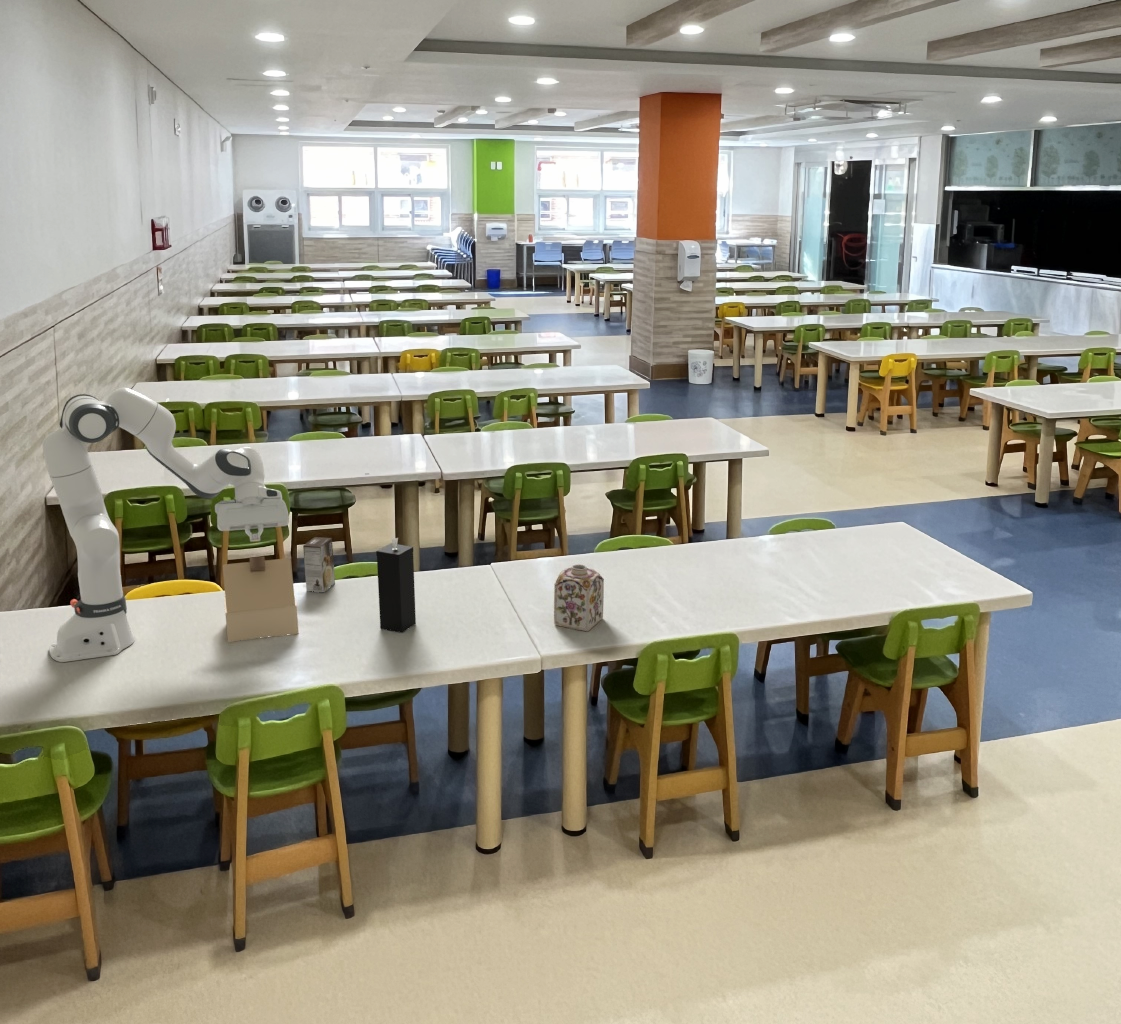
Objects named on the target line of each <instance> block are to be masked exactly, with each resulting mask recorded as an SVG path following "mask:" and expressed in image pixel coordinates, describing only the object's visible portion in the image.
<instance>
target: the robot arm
mask: <svg viewBox="0 0 1121 1024" xmlns="http://www.w3.org/2000/svg"><path fill="white" fill-rule="evenodd" d="M59 428H60V429H57V430H55V431H52V432H50V433H49V434H47V435H46V436H45V437H44V438H43V440H42V443H41V444H42V453H43V458H44V462H45V466H46V469H47V473H48V475H49V477H50V480H51V483H52V485H53V488H54V491H55V494H56V497H57V500H58V502H59V505H60V508H61V511H62V515H63V517H64V520H65V524H66V526H67V529H68V531H69V535H70V537H71V538H72V540H73V542H74V544H75V547H76V553H77V578H78V579H77V580H78V586H79V593H80V599H79V600H77V599H75V598H73V599H71V600H70V603H69V604H70V607H71V608H73V609H74V614H73V615H72V616H71V617H69V618H68V619H67V620H66V621H65V622H64V623H62V625H60V626H59V628H58V630H57V632H56V634H57V635H56V641H54V642H52V643H51V644H50V645H49V652H48V653H49V656H50V657H51V658H52V659H53V660H54V661H55V662H58V663H67V662H73V661H79V660H87V659H93V658H102V657H109V656H114V655H115V656H116V655H118V654H120V652H122V651H123V650H124V649H126V648H128V647H130V646H131V645H133V643H134V642H135V640H136V639H135V636H134V634H133V631H132V630H131V627H130V624H129V621H128V616H127V612H128V611H127V606H128V605H127V600H126V597H125V596H126V595H125V593H124V592H123V586H122V575H121V566H120V565H121V551H120V550H121V549H120V547H121V546H120V533H119V531H118V529H117V528H116V527H115V525H114V523H113V522H112V521H111V519H110V516H109V514H108V511H107V508H106V505H105V501H104V498H103V493H102V490H101V489H102V488H101V487H100V483H99V480H98V477H97V474H96V473H95V470H94V466H93V464H92V461H91V458H90V456H89V452H88V444H96V443H98V442H101V441H103V440H104V439H106V438H107V437H108V436H110V435H111V434H112V433H114V432H115V431H117V429H119V428H121V429H122V430H125V431H126V432H128V433H130V434H131V435H133V436H134V437H136V438H137V439H139V440H140V441H141V442H142V443H143V444H144V445H145V449H146V452H148V454H149V455H150V456H151V457H152V458H153V459H155V461H157V462H158V463H159V464H160V465H162V466H163V467H164V468H165V469H166V470H168V471H169V472H171V474H173V475H174V476H175V477H177V478H178V479H179V480H180V481H181V482H183V483H184V484H185V485H186V487H188V489H190V490H191V492H192V493H194V494H195V495H196V496H198V497H200V498H202V499H206V500H207V499H209V500H210V499H213V498H215V497H218V495H219V494H220V493H221V492H222V491H223V490H224V489H225V488H227V487H228V486H229V485H231V486H233V487H234V494H235V495H234V497H235V499H228V500H219V502H217V503H215V505H214V512H215V514H216V515H217V516H216V519H217V520H216V523H217V524H216V525H217V529H218V530H219V531H220V532H229V531H240V530H244V533H245V534H246V535H247V536H248V537H249V541H250V542H251V543H252V542H261V535H262V533H263V532H264V529H266V528H278V527H286V526H288V525H289V523H290V516H289V511H288V507H287V504H286V502H285V500H284V499H283V495H282V492H281V490H277V489H273V488H268V487H266V485H265V483H264V481H265V470H264V464H263V459H262V456H261V455H260V453H259V452H258V451H257V450H256V449H255V448H253V447H249V446H241V447H239V448H237V449H230V448H222V449H221V448H220V449H219V450H217V451H215V452H214V453H213V454H211V456H209V457H207V459H205V460H204V461H203V462H202V463H200V464H195V463H193V462H192V461H190V460H189V459H188V458H187V457H186V456H184V454H182V453H181V452H180V451H178V450H177V449H176V448H175V447H174V444H173V440H174V436H175V433H176V429H177V424H176V419H175V416H174V414H172V413H171V411H170V410H169V409H167V408H166V407H165V406H163V405H161V404H160V403H158V402H157V401H155V400H153V399H151V398H150V397H149V396H147V395H144V394H143V393H140V392H138V391H136V390H133V389H132V388H131V389H130V388H128V387H119V388H117V389H115V390H114V391H112V392H111V393H110V394H109V395H108V397H107V398H106V399H104V400H99V398H96V397H95V396H93V395H90V394H85V393H84V394H83V393H82V394H81V393H80V394H76V395H74V396H72V397H70V398H69V399H68V400H67V401H66V402H65V404H64V405H63V408H62V412H61V417H60V421H59ZM253 529H257V531H258V532H256V533H252V532H251V530H253ZM250 542H249V543H250Z"/></svg>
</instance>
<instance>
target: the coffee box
mask: <svg viewBox="0 0 1121 1024" xmlns="http://www.w3.org/2000/svg"><path fill="white" fill-rule="evenodd" d="M302 546H303V559H304V562H303V563H304V572H305V573H304V574H305V584H306V585H305V587H306V592H307V591H312V592H311V593H319V592H324V593H326V592H325V591H326V590H327V589H328V588H329V587H330V588H331V587H332V586H334V585H335V583H336V581H335V579H336V577H335V566H334V565H335V564H334V563H335V562H334V550H333V549H334V547H333V538H332V537H317V536H315V537H313V538H311V539H310V540H308V541H307V542H305V544H304V545H302ZM331 585H332V586H331ZM330 588H329V589H330ZM329 589H328V590H329ZM328 590H327V591H328ZM313 591H314V592H313Z"/></svg>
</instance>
